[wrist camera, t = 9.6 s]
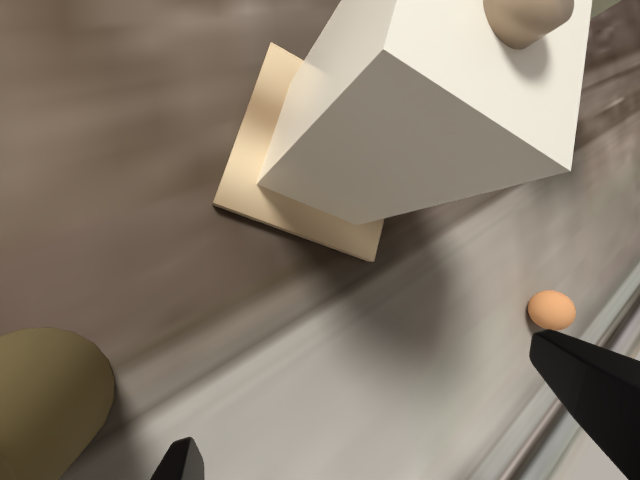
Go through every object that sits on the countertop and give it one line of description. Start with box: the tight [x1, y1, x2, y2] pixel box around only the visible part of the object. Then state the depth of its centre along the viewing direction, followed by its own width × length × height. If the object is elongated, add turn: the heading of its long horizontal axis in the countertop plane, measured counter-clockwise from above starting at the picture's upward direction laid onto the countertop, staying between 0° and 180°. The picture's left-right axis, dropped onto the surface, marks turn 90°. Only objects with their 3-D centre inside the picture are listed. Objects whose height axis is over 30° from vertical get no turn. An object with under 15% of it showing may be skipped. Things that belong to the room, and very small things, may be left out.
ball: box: [528, 290, 576, 331], centre depth 25 cm, size 3×3×3 cm
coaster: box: [212, 42, 384, 262], centre depth 20 cm, size 10×10×1 cm
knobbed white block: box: [257, 0, 592, 225], centre depth 14 cm, size 6×6×13 cm
